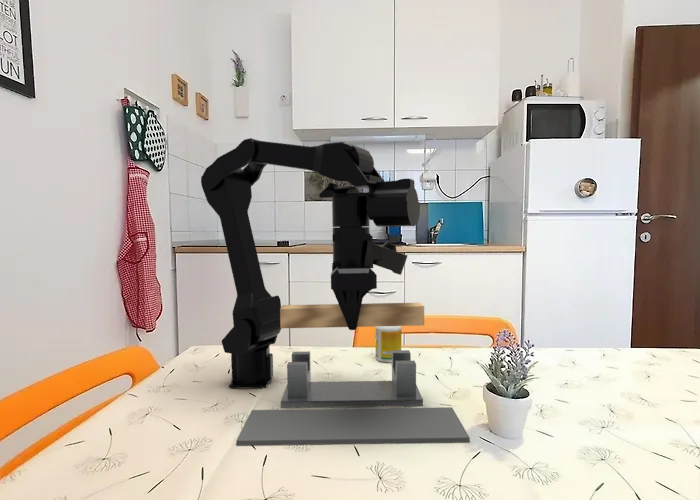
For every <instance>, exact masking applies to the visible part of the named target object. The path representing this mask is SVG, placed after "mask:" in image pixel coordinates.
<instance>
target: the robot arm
mask: <svg viewBox="0 0 700 500" xmlns="http://www.w3.org/2000/svg"><path fill="white" fill-rule="evenodd" d="M267 165H269V166H270V165H271V166H278V167H284V168H291V169H297V170H303V171H304V170H305V171H312V172H313V173H316V174H318V175H321V176H323V177H326V178H327V179H330V180H333V181H337V182H343V183H345V184H346V183H348V184H351V185H352V186H344V187H343V186H341V187H340V186H339V185H338V184H337V183H334V182H329V183H328V184H327V186H326V187H325V188H324V189H323V190H321V192H320V193H319V194H318V197H319V198H320V199H325V200H326V199H327V200H331V205H332V206H331V211H332V212H331V213H332V215H331V216H332V219H331V221H332V265H331V273H330V289H331V290H332V291H333V293H334V296H335V298H336V299H335V300H336V302H337V304H339V306H340V308H341V311H342V313H343V316H344V318H345V321H346V323H347V326H348V327H347V328H348V330H349V331H355V330H357V328H358V327H357V324H358V319H359V314H360V309H361V304H363V298H364V297H365V296H366V295H367V294H369V292H371V291H372V290H375V289H377V288H378V287H377V286H378V285H377V284H378V283H377V281H378V277H377V274H376V272H374V270H373V269H374V266H377V267H380V268H382V269H387V270H389V271H392V273H394V274H396V275H400V276H401V275H402V273H403V270H404V267H405V264H406V261H407V260H408V259H407V258H408V255H407V254H405V253H402V252H399V251H397V245H396V244H394V243H392V242H391V243H390V242H388V241H385V243H383V245H380V244H376V243H374V239H373V238H374V237H373V235H372V234H371V233H370V221H372V222H373V223H374V225H375V226H376V227H378V228H379V227H382V228H383V227H385V228H386V227H393V228H394V227H416V226H417V224H418V223H419V219H420V215H421V214H420V213H421V203H420V201H419V196H418V193H417V192H418V191H417V190H416V188H415V180H414V179H412V178H401V179H398V180H397V179H396V180H389V181H388V180H387V181H386V180H384V179H383V177H382V176H381V175H380V173H379V172H378V170H377V169H376V168H375V162H374V158H373V156H372V154H371V152H370V151H369V150H367V149H365V148H362V147H361V146H357V145H355V144H351V143H349V142H347V141H339V142H338V141H337V142H327V143H322V144H319V145H313V146H308V145H302V144H301V145H299V144H293V143H292V144H291V143H281V142H273V141H265V140H259V139H255V138H246V139H243V140H242V141H240V143H239V144H238V145H237V146H236V147H235V148H234V149H231V150H230V151H228V152H226V153H224V154H222V155H221V156H218V157H217V158H216V159H215V160H214V161H213V162H212V164H210V165H208V166H207V167H206V169H204V172H203V174H202V175H201V176H200V184H201V188H202V191H203V193H204V196H205V199H206V201H207V203H208V206H210V207H211V208H212V209H213V211H215V213H216V214H217V216H218V217H219V219H220V224H221V228H222V233H223V237H224V241H225V245H226V251H227V257H228V259H229V264H230V269H231V273H232V276H233V277H232V278H233V281H234V285H235V290H236V299H235V303H234V306H233V309H232V322H233V323H232V324H233V327H232V328H230V330H229V331H228V333H226V335H225V336H224V337H223V338H222V340H221V345H222V349H223V351H224V353H227V354H230V356H231V358H230V359H231V362H230V363H231V381H230V383H229V385H228V388H230V389H239V388H240V389H244V388H246V389H247V388H248V389H249V388H250V389H251V388H259V389H261V388H266V387H267V386H268V384H269V383H270V381H271V380H272V378H273V376H274V354H273V353H270V352H271V351H270V345H274V344H276V341H277V338H278V335H279V334H280V332H281V330H282V328H281V324H280V308H281V307H282V303H281V298H280V296H279V295H277V294H276V295H273V296H272V295H271V294H270V292H269V291H268V290H267V289H266V287H265V282H264V278H263V274H262V269H261V264H260V261H259V256H258V255H259V254H258V252H257V248H256V244H255V238H254V235H253V230H252V227H251V226H252V225H251V221H250V217H249V208H250V204H251V201H252V199H253V194H252V187H253V185H255V183H257V182H258V181H259V180H260V178H261V175H262V174H263V171H264V169H265V167H266V166H267ZM357 187H358V188H363V189H368V192H360V191H359V189H357Z"/></svg>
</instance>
